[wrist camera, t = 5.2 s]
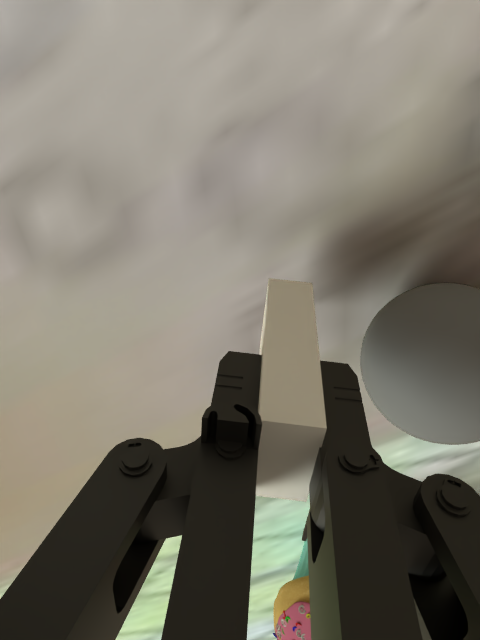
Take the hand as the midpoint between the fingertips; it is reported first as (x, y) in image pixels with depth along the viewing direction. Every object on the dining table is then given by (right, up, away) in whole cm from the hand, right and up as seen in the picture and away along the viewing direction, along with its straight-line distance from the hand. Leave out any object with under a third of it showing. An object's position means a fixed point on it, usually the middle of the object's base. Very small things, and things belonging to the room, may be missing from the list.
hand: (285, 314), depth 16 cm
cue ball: (+5, -2, 0) cm, 6 cm away
